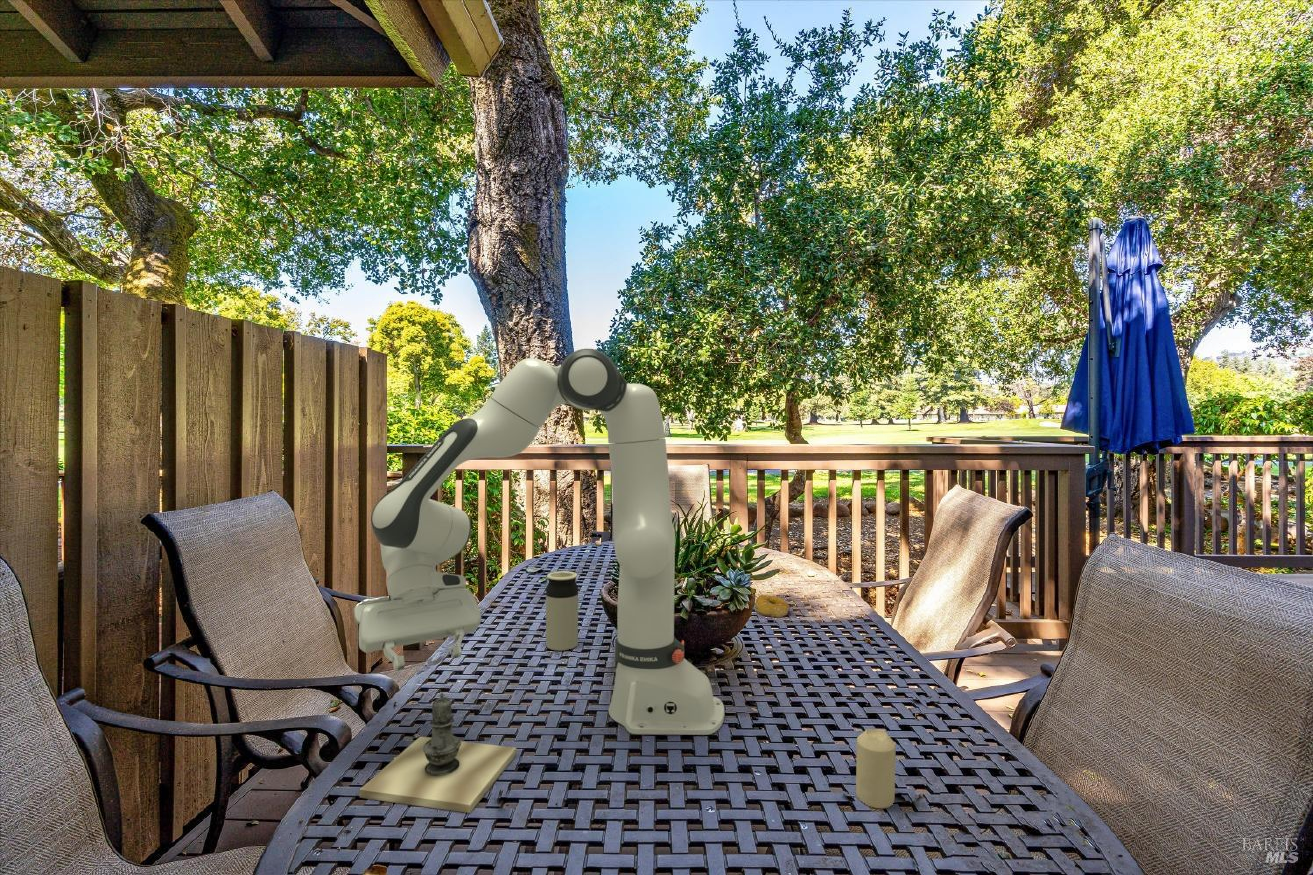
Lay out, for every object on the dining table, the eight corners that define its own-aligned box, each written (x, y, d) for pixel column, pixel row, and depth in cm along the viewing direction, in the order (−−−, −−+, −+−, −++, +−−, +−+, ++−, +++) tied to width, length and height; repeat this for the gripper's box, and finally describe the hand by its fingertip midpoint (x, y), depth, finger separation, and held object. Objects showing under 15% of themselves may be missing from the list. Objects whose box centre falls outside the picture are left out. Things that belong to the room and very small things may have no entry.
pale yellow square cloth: (516, 754, 105) (516, 747, 105) (470, 812, 90) (469, 804, 90) (420, 743, 109) (420, 736, 109) (359, 797, 93) (359, 789, 93)
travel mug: (575, 651, 152) (575, 578, 152) (543, 651, 153) (543, 578, 152) (580, 640, 160) (580, 570, 160) (549, 639, 160) (549, 570, 160)
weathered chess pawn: (458, 775, 97) (458, 699, 97) (419, 778, 96) (418, 702, 96) (463, 755, 103) (463, 683, 103) (426, 758, 102) (426, 686, 102)
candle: (876, 813, 90) (877, 745, 90) (848, 792, 95) (849, 728, 95) (902, 802, 93) (903, 736, 93) (874, 783, 98) (875, 720, 97)
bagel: (765, 620, 178) (765, 603, 178) (749, 609, 188) (749, 593, 188) (796, 617, 181) (796, 601, 181) (778, 606, 191) (778, 591, 191)
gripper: (353, 591, 106) (364, 667, 98) (473, 574, 117) (491, 641, 110) (350, 611, 110) (360, 685, 102) (466, 593, 121) (483, 658, 113)
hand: (429, 662), depth 106 cm, fingers open, 8 cm apart
